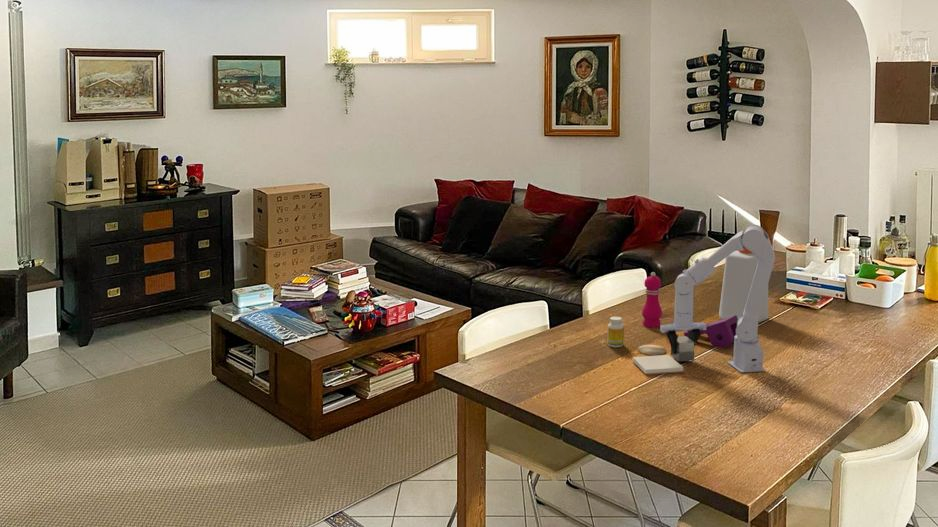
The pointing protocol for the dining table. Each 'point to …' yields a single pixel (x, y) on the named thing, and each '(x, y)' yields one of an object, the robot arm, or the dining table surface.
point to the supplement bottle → (615, 332)
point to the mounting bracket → (720, 331)
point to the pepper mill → (652, 302)
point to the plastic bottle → (740, 285)
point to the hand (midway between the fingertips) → (682, 352)
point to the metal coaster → (652, 349)
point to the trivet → (657, 364)
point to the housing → (684, 349)
